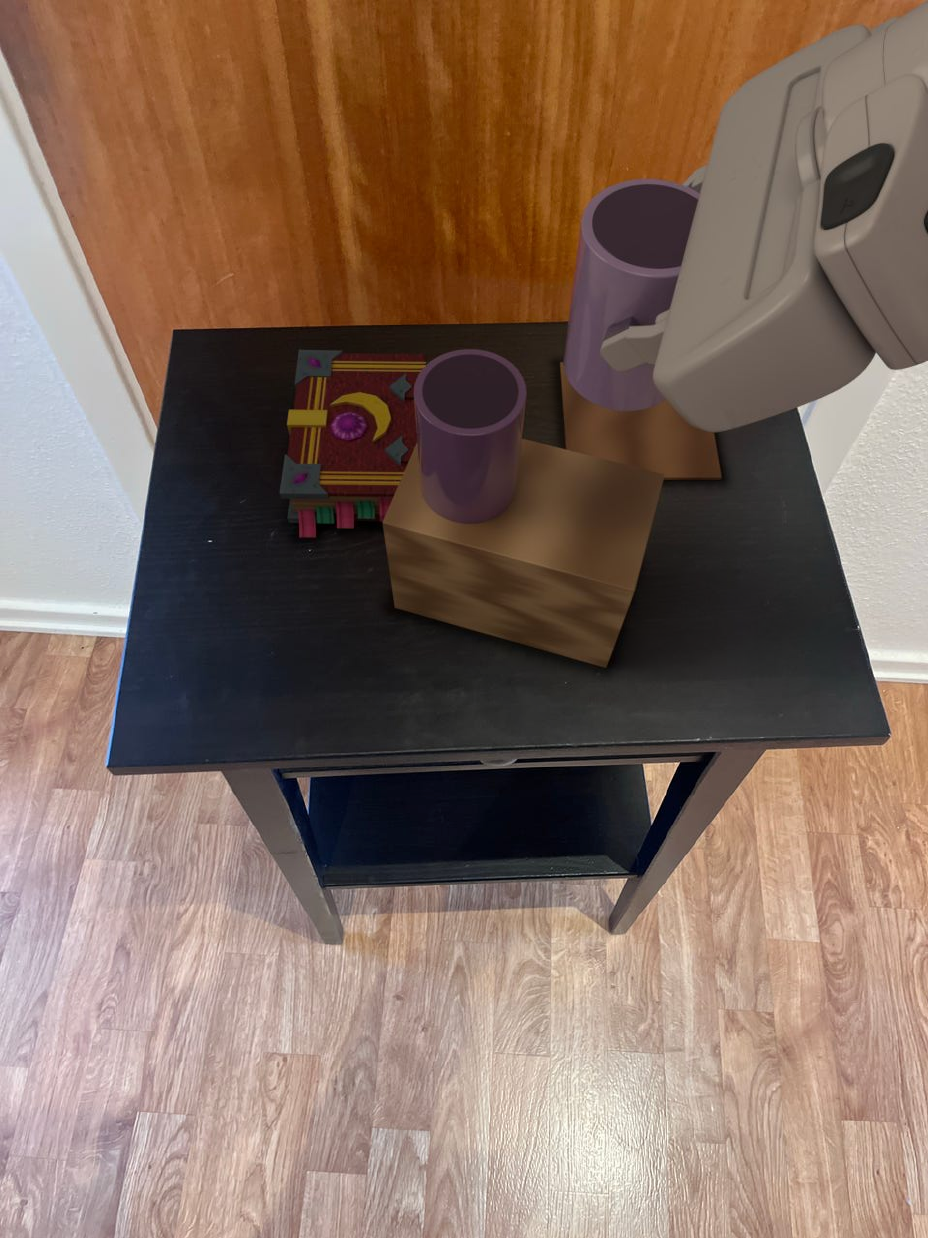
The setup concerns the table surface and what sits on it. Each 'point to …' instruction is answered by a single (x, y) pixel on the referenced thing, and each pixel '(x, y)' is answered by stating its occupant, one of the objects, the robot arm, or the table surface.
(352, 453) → the decorative book
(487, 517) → the plum cup
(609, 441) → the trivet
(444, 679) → the table surface
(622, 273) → the lavender cup
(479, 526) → the block
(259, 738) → the table surface
